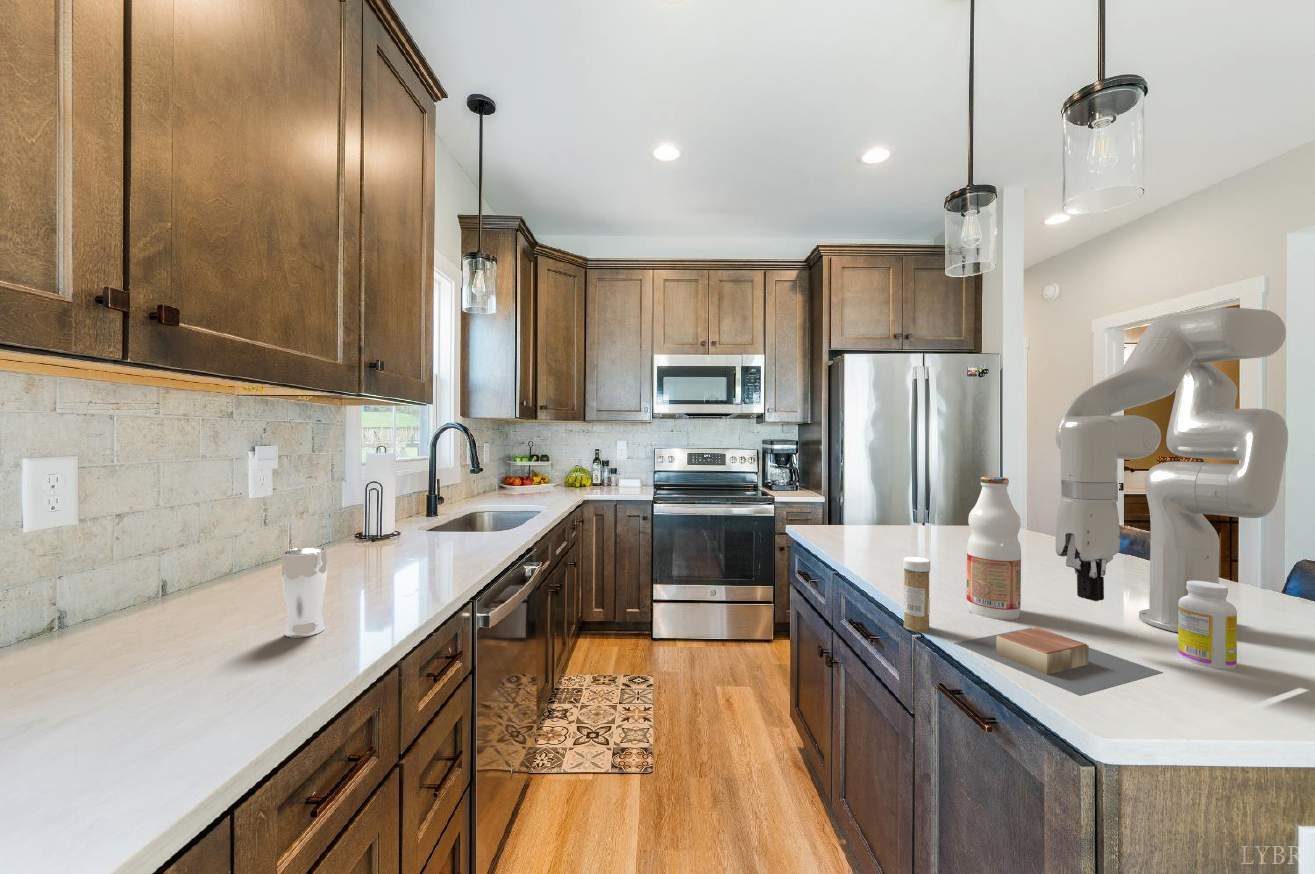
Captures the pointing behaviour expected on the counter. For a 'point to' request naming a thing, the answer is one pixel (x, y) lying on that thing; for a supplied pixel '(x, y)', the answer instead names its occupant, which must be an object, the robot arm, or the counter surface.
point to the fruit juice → (994, 554)
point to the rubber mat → (1077, 680)
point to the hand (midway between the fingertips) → (1090, 598)
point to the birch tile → (1042, 650)
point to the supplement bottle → (1207, 626)
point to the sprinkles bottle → (916, 594)
